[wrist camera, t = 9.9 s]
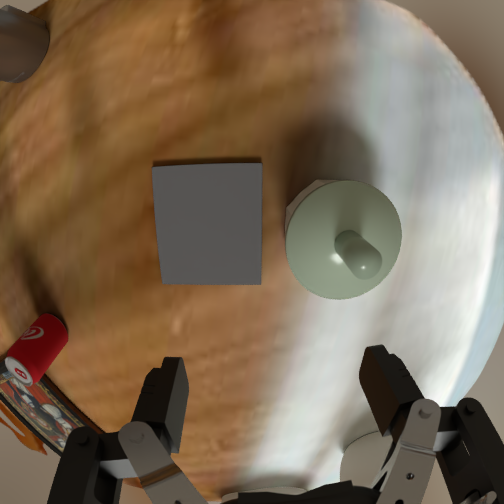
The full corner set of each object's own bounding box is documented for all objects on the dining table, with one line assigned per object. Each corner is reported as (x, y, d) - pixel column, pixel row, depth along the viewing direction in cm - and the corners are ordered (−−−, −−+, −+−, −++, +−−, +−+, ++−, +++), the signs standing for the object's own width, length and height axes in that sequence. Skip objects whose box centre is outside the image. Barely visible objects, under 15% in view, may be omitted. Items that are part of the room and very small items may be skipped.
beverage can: (40, 305, 36) (-2, 346, 25) (69, 319, 37) (30, 367, 26) (42, 334, 38) (7, 376, 27) (71, 348, 39) (37, 395, 28)
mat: (153, 166, 30) (151, 167, 29) (261, 163, 30) (262, 163, 30) (163, 281, 35) (162, 283, 34) (260, 282, 35) (261, 284, 34)
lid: (287, 176, 25) (298, 184, 20) (403, 184, 26) (436, 195, 20) (281, 296, 30) (289, 329, 24) (387, 292, 30) (410, 321, 24)
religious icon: (142, 450, 50) (139, 459, 47) (76, 460, 57) (73, 467, 54) (13, 330, 40) (5, 338, 37) (-18, 373, 46) (-23, 379, 44)
